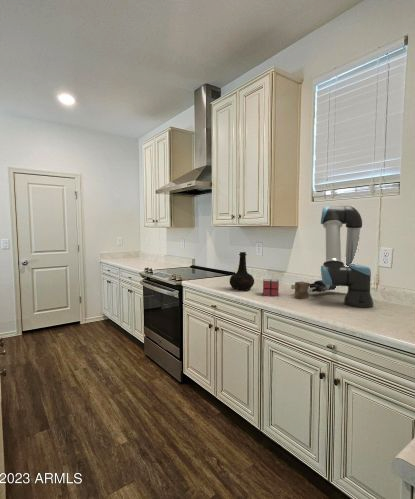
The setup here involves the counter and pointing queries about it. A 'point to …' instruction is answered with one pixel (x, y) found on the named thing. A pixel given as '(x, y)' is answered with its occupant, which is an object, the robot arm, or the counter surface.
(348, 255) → the robot arm
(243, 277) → the dark bulbous vase
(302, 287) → the walnut block
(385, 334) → the counter surface
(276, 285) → the puzzle cube
